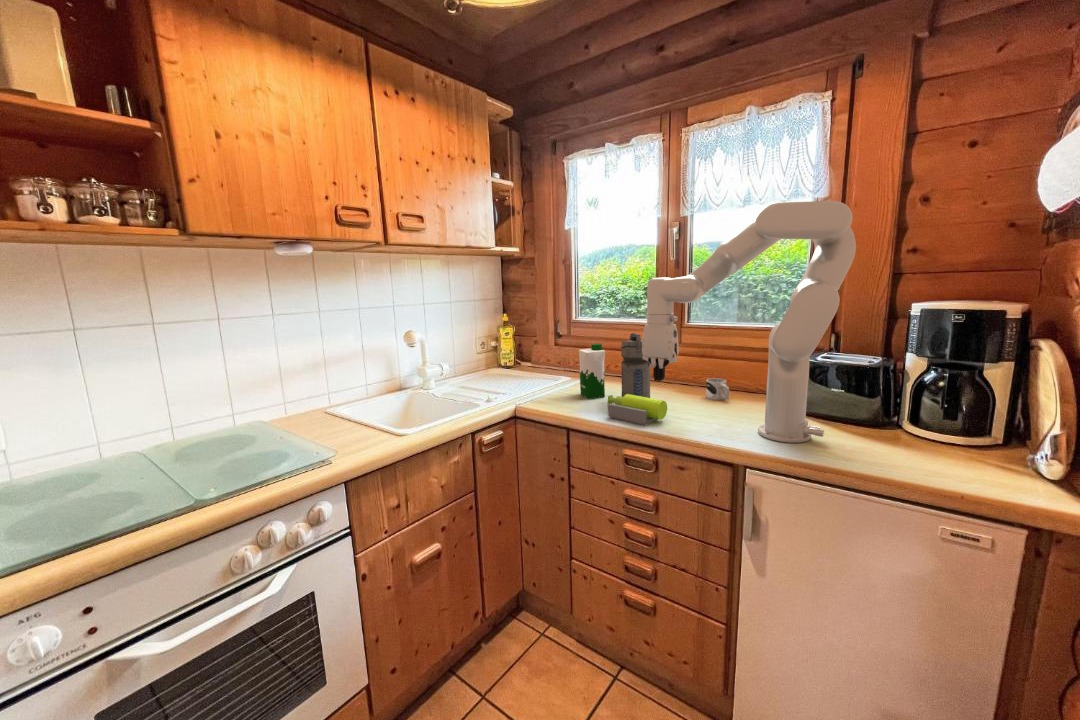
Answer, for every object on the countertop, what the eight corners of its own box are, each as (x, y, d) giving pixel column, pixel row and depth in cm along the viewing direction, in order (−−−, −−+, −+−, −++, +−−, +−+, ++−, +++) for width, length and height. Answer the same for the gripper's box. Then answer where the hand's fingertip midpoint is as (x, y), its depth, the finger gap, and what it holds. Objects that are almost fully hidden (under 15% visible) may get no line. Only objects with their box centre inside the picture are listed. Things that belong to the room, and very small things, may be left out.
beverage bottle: (645, 395, 162) (646, 330, 157) (653, 405, 149) (654, 334, 144) (618, 396, 162) (618, 331, 158) (624, 406, 149) (623, 335, 145)
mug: (702, 396, 158) (702, 379, 157) (717, 394, 160) (718, 377, 158) (719, 403, 148) (720, 385, 147) (736, 401, 150) (736, 383, 149)
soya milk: (608, 397, 162) (607, 345, 158) (586, 400, 159) (585, 347, 156) (598, 391, 170) (597, 342, 167) (577, 394, 168) (576, 344, 164)
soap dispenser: (666, 421, 133) (613, 409, 147) (667, 399, 132) (614, 389, 146) (656, 424, 129) (603, 411, 143) (658, 401, 128) (604, 391, 142)
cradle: (662, 416, 137) (662, 402, 136) (644, 425, 129) (644, 411, 128) (627, 409, 146) (626, 396, 145) (608, 417, 138) (608, 404, 137)
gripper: (689, 319, 124) (688, 381, 127) (643, 318, 134) (642, 375, 137) (678, 322, 118) (677, 386, 122) (631, 320, 128) (630, 379, 132)
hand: (659, 380), depth 129 cm, fingers closed
